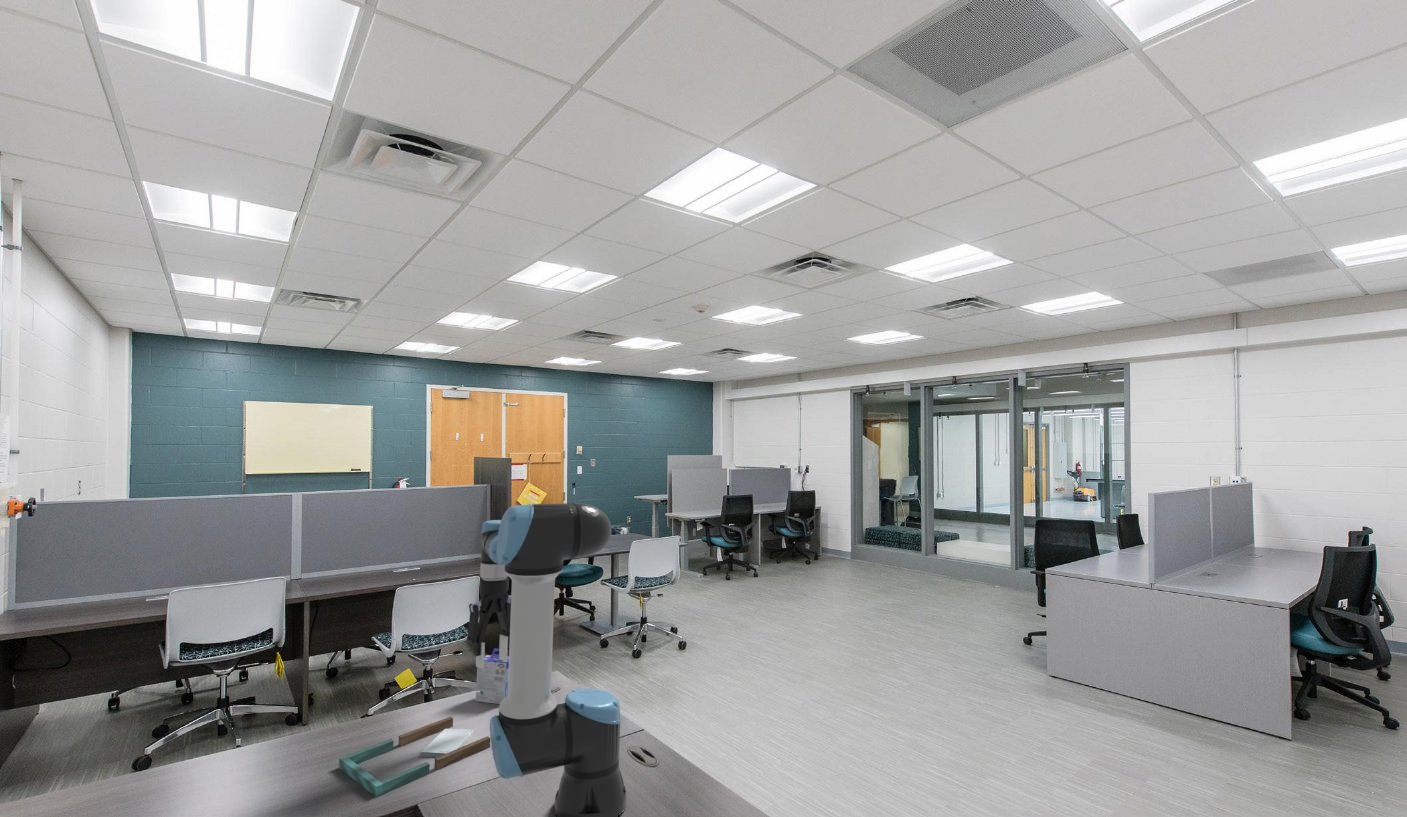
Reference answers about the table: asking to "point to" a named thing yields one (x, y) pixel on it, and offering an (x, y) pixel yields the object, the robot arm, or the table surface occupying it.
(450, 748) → the hard drive
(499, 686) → the ink cartridge box
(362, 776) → the chute
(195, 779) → the table surface
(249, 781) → the table surface
